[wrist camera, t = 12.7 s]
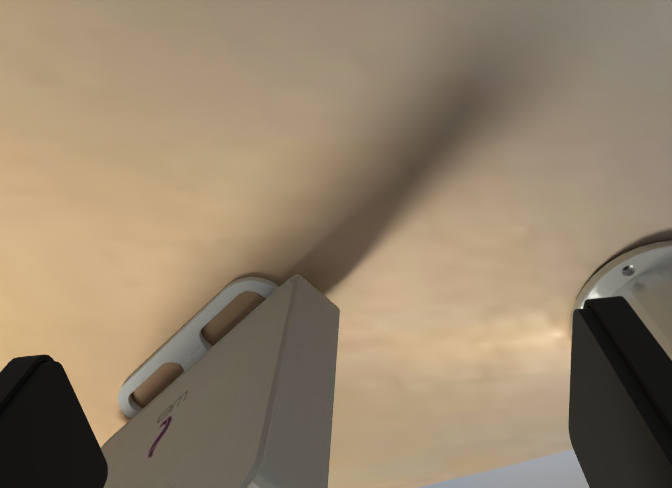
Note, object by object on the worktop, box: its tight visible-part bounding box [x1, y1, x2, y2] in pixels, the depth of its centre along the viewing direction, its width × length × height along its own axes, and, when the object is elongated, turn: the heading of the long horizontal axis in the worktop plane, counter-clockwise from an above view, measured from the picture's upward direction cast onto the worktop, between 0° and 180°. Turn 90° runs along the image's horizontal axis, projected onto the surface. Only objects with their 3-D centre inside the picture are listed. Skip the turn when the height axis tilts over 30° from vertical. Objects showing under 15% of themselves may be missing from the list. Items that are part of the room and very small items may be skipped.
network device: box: [101, 274, 340, 488], centre depth 38 cm, size 26×9×20 cm, turn 136°
